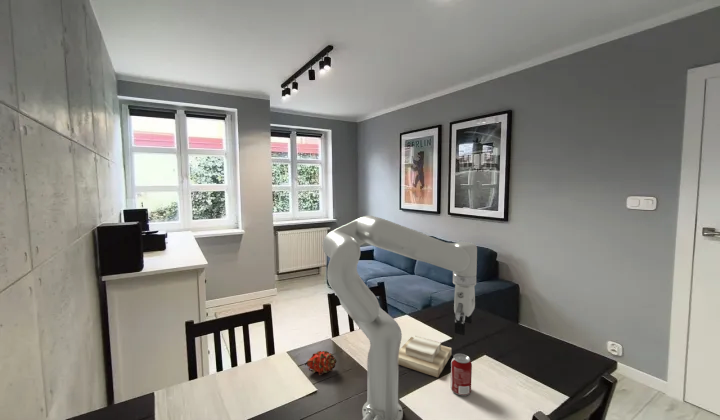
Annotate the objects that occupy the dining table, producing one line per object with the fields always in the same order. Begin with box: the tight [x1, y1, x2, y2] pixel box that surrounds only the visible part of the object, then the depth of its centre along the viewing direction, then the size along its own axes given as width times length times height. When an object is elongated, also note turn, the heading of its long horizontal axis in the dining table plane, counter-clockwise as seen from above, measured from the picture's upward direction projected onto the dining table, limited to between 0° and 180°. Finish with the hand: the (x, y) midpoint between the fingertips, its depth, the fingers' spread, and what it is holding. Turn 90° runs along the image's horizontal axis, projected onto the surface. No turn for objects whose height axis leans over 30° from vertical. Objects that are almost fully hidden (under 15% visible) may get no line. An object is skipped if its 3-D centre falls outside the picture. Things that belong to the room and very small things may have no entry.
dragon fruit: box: [304, 350, 337, 376], centre depth 119 cm, size 8×8×12 cm
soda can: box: [450, 353, 473, 397], centre depth 108 cm, size 7×7×12 cm
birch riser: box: [398, 335, 452, 378], centre depth 128 cm, size 18×18×6 cm
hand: (463, 327), depth 107 cm, fingers open, 9 cm apart
